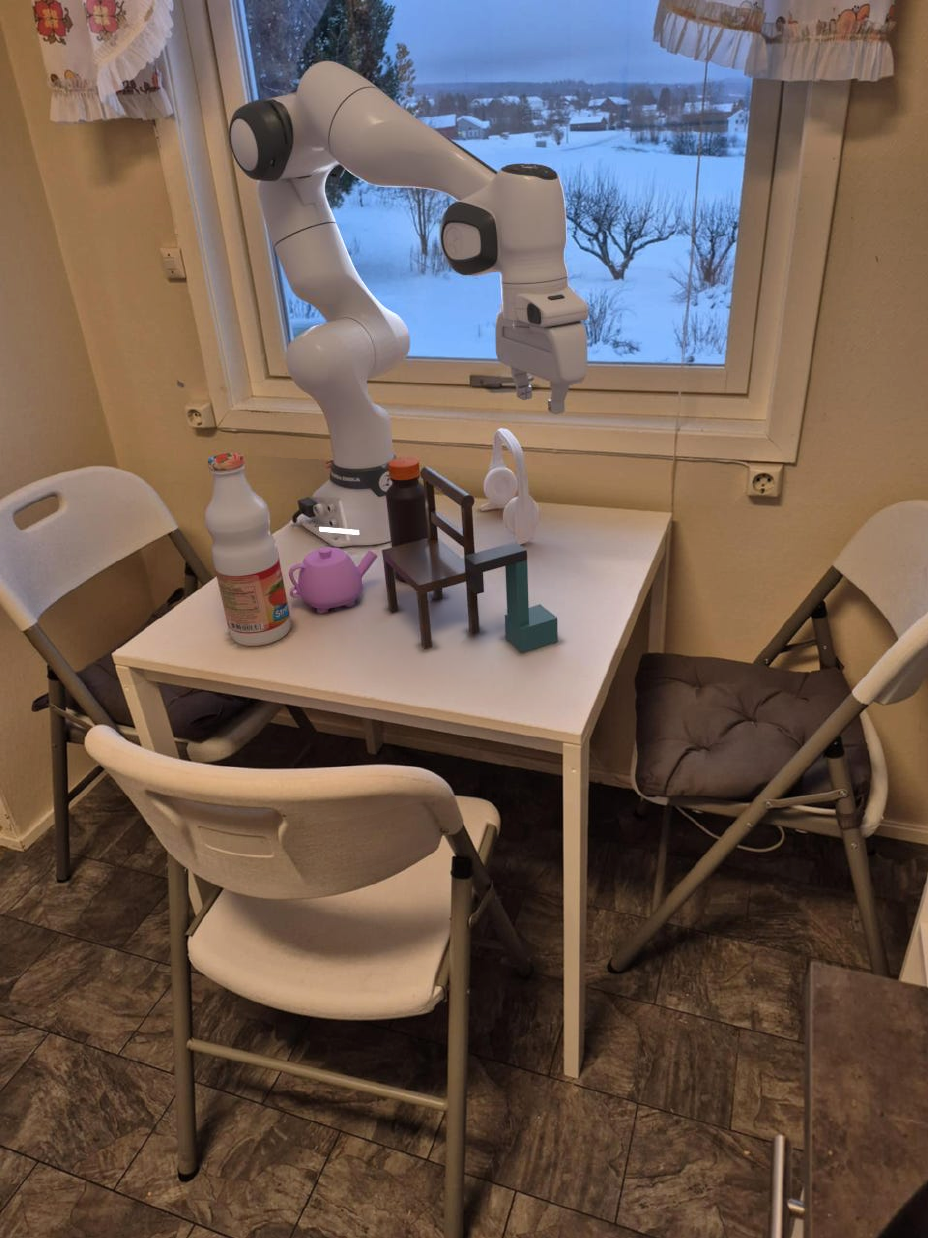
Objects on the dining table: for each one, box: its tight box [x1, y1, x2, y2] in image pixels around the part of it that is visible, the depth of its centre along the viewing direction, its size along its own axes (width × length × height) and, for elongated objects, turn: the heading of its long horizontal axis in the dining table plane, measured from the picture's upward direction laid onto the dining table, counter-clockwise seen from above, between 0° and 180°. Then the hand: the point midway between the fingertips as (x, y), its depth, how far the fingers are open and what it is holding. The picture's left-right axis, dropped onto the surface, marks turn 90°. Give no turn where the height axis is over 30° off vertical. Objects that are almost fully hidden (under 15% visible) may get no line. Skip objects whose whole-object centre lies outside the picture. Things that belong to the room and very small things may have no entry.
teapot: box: [288, 546, 378, 614], centre depth 137 cm, size 10×15×9 cm
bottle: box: [386, 456, 428, 583], centre depth 141 cm, size 7×7×20 cm
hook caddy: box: [463, 541, 559, 654], centre depth 120 cm, size 12×5×16 cm, turn 117°
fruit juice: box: [204, 451, 292, 647], centre depth 125 cm, size 9×9×28 cm
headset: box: [480, 427, 541, 546], centre depth 157 cm, size 20×7×18 cm, turn 12°
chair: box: [381, 466, 481, 650], centre depth 126 cm, size 9×14×22 cm
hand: (540, 405), depth 120 cm, fingers open, 8 cm apart
